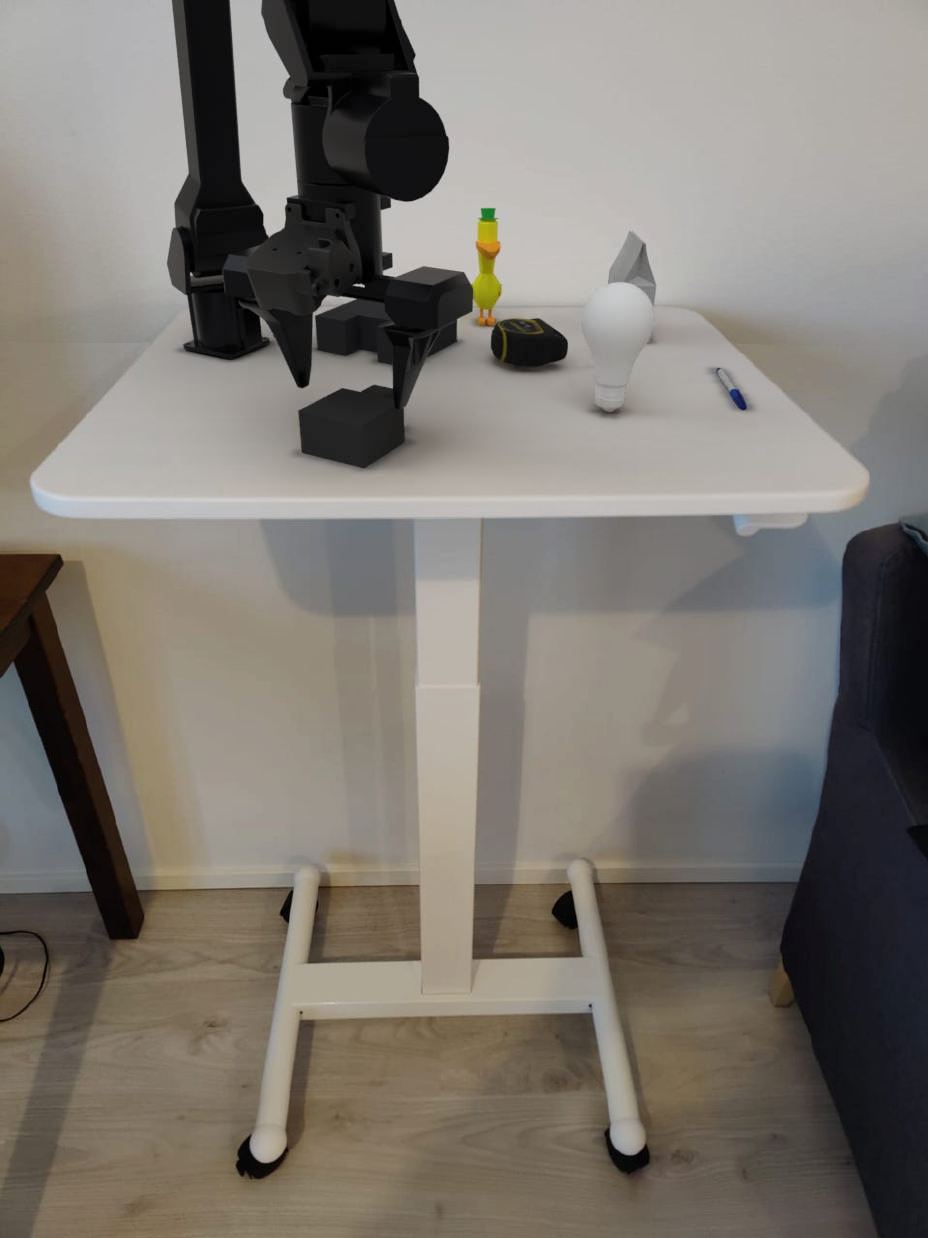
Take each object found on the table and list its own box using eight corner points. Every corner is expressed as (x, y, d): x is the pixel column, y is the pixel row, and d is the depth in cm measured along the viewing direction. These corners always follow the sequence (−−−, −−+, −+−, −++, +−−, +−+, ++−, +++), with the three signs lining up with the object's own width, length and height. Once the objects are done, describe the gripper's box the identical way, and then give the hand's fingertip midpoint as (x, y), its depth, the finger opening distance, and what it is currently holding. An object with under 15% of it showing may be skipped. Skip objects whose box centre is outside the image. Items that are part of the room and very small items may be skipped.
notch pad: (317, 349, 95) (314, 315, 93) (370, 325, 103) (369, 293, 101) (408, 367, 91) (407, 331, 89) (456, 341, 98) (457, 307, 96)
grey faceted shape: (615, 342, 99) (625, 243, 93) (603, 324, 104) (613, 230, 99) (649, 342, 99) (661, 243, 93) (636, 324, 105) (647, 230, 99)
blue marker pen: (749, 412, 83) (751, 401, 82) (739, 411, 83) (741, 401, 82) (720, 373, 92) (722, 363, 91) (711, 372, 92) (713, 362, 91)
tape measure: (569, 370, 91) (572, 332, 89) (503, 376, 89) (505, 337, 87) (543, 349, 96) (545, 313, 94) (481, 355, 95) (482, 318, 93)
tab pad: (301, 452, 74) (297, 410, 72) (357, 420, 79) (355, 380, 77) (364, 468, 71) (362, 425, 69) (417, 433, 77) (417, 393, 75)
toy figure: (505, 331, 101) (509, 214, 95) (473, 332, 101) (475, 214, 94) (497, 315, 107) (501, 203, 100) (467, 315, 107) (468, 203, 100)
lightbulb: (648, 404, 84) (664, 278, 77) (636, 427, 79) (652, 295, 73) (582, 395, 85) (593, 271, 79) (566, 418, 80) (576, 288, 74)
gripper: (153, 182, 61) (188, 407, 70) (390, 210, 54) (397, 458, 63) (260, 162, 70) (280, 366, 78) (478, 184, 62) (474, 406, 71)
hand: (351, 397), depth 72 cm, fingers open, 9 cm apart
